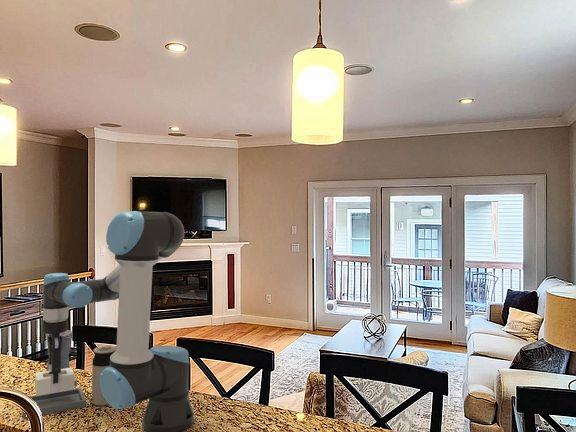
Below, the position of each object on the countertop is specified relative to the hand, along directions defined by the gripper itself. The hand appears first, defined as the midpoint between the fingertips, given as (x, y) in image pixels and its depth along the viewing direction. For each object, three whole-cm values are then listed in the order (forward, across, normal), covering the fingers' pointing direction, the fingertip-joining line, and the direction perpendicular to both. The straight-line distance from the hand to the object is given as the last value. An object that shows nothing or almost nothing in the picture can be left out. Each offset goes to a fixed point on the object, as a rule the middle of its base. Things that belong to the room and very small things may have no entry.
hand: (54, 387), depth 149 cm
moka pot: (+6, -30, +3) cm, 31 cm away
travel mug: (+6, +5, +15) cm, 17 cm away
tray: (+6, 0, 0) cm, 6 cm away
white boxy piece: (0, 0, 0) cm, 0 cm away
